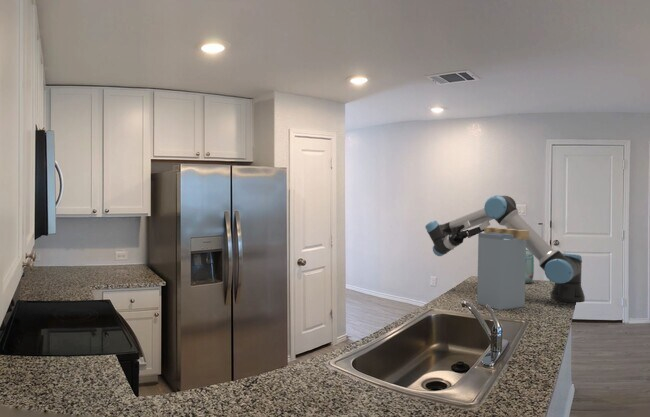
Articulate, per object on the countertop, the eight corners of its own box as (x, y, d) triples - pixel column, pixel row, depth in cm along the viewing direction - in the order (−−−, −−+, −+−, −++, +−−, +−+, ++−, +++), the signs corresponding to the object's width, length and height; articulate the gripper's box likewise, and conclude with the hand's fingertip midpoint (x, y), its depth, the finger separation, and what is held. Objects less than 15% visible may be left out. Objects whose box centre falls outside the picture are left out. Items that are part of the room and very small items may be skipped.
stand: (477, 303, 226) (478, 233, 225) (501, 300, 233) (502, 232, 232) (499, 310, 214) (501, 235, 213) (524, 306, 221) (526, 234, 220)
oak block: (484, 235, 235) (484, 227, 235) (489, 235, 237) (490, 227, 237) (522, 239, 215) (523, 230, 215) (528, 239, 217) (529, 230, 216)
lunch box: (485, 281, 285) (486, 245, 284) (486, 278, 294) (487, 244, 293) (533, 284, 274) (534, 248, 273) (533, 281, 284) (534, 246, 283)
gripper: (473, 245, 262) (499, 228, 245) (438, 247, 251) (462, 230, 234) (468, 233, 265) (494, 215, 248) (433, 234, 254) (457, 216, 237)
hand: (479, 222), depth 241 cm, fingers open, 13 cm apart
